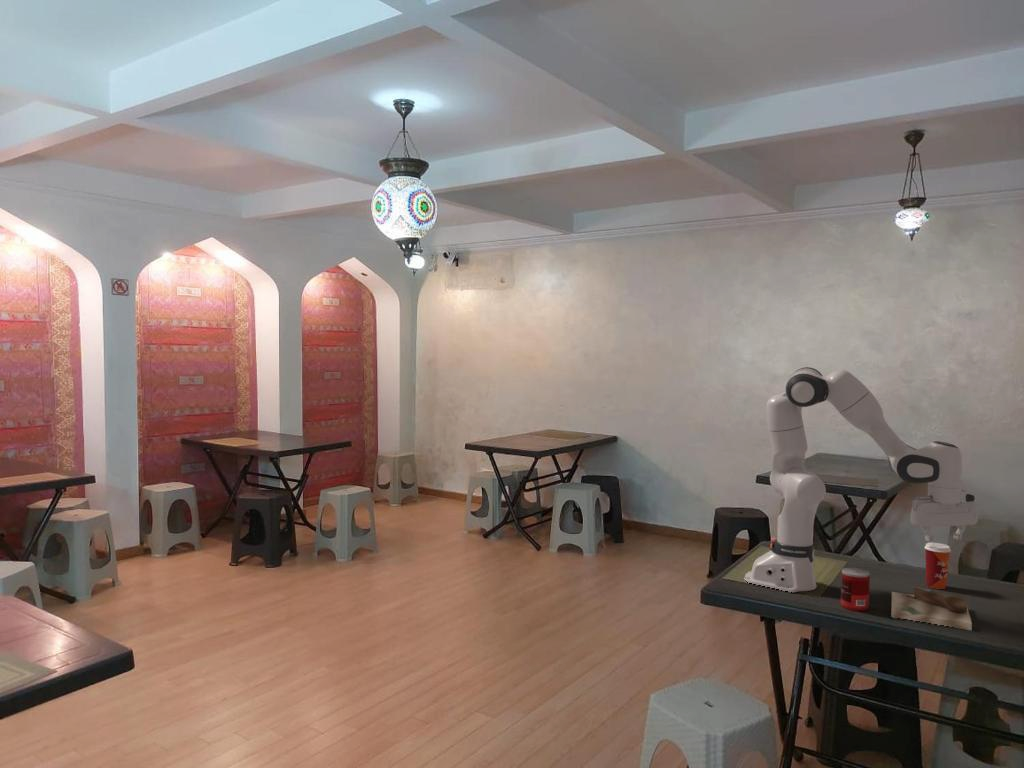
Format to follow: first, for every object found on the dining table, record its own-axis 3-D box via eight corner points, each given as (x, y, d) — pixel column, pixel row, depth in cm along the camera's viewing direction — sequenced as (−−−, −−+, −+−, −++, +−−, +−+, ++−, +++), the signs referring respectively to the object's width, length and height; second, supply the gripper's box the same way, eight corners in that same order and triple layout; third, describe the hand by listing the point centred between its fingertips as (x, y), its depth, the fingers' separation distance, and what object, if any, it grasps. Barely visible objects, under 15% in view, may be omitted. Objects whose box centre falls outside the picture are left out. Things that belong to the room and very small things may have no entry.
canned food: (872, 607, 224) (873, 571, 223) (862, 613, 218) (863, 577, 218) (846, 600, 229) (848, 565, 229) (836, 606, 224) (837, 571, 223)
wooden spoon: (970, 610, 215) (970, 598, 215) (961, 613, 212) (962, 601, 212) (920, 595, 227) (921, 584, 227) (911, 598, 224) (912, 587, 224)
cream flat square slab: (891, 617, 215) (891, 610, 215) (891, 598, 232) (891, 591, 232) (971, 630, 206) (972, 623, 206) (965, 609, 223) (966, 602, 223)
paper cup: (942, 592, 238) (944, 549, 237) (918, 585, 244) (920, 544, 243) (953, 587, 243) (955, 546, 242) (929, 581, 249) (931, 540, 248)
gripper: (920, 498, 219) (919, 544, 220) (982, 496, 222) (981, 541, 223) (906, 494, 226) (905, 538, 226) (966, 491, 228) (965, 535, 229)
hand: (943, 540), depth 225 cm, fingers open, 8 cm apart
